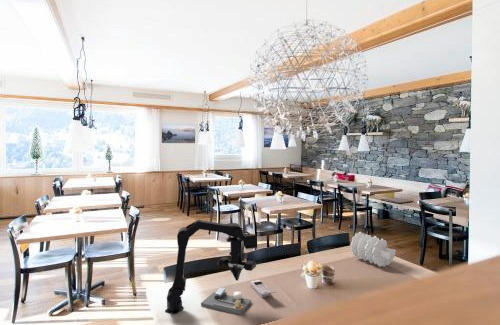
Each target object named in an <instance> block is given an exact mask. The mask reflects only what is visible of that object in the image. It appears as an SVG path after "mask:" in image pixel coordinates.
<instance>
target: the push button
mask: <svg viewBox="0 0 500 325" xmlns="http://www.w3.org/2000/svg"><path fill="white" fill-rule="evenodd" d="M232 293H233V295H232V296H233V298H234V299H235V300H240V299H242V298H243V292H241V291H239V290H238V291H234V292H232Z"/></svg>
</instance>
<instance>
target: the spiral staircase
mask: <svg viewBox="0 0 500 325" xmlns="http://www.w3.org/2000/svg"><path fill="white" fill-rule="evenodd" d="M349 246H350V247H351V248H350V251H351V253H352V255H353V256H355V257H356V258H357V259H360V260H363V261H364V262H366V261H369V263H370V264H371V265H372V264H374V265H377V266H378V267H379V268H381V267H386V266H388V265H390V264H392V261H393V260H394V258H395V256H396V251H397V249H395V248H388V247H387V246H388V242H387V239H384V238H379V237H377V236H376V235H374V236H371V234H369V235H368V234H366V233H364V232H362V231H359V232H355V234H354V236H352V238H351V243H350V245H349Z"/></svg>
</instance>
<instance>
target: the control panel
mask: <svg viewBox="0 0 500 325" xmlns="http://www.w3.org/2000/svg"><path fill="white" fill-rule="evenodd" d="M215 293H216V291H215V292H214V291H213V292H212V293H211V294H210V295H208V296H207V297H206V298H205V299H203V301H201V302H200V306H201V307H205V308H208V309H214V310H218V311H220V312H221V311H222V312H225V313H230V314H235V315H239V316H241V315H243V313H244V312H245V311H246V310H247V308H248V307H250V305H251V304H252V299H248V298H244V297H242V299H240V300H241V307H240V308H239V309H238V308H235V301H236V300H235V299H234V298H233V295H229V294H227V292H226V291H224V293H223V294H222V295H221V296H217V295H215Z"/></svg>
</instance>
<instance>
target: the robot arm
mask: <svg viewBox="0 0 500 325" xmlns="http://www.w3.org/2000/svg"><path fill="white" fill-rule="evenodd" d="M199 230H203V231H210V232H216V233H222V234H225V235H226V236H228V237H226V242H228V243H230V244H229V245H230V251H229V255H230V257H229V255H228V257H227V256H222V257H221V258H219V259H218V261H217V266H220V267H224V266H225V264H227V265H228V267H227V268H228V270H229V271H230V272H231V274H232V276H233V277H234V280H235V281H239V279H240V276H241V273H242V270H245V271H251V272H252V271H253V270H254V269H255V268H256V267H257V262H256V260H248V252H244V250H243V248H244V249H245V250H249V249H258V242H257V241H258V240H257V234H255V233H253V234H246V235H245V232H243V229H242V227H241V224H239V223H237V222H230V223H221V222H220V223H219V222H214V221H208V220H202V219H196V220H195V221H194V222H191V223H190V224H188V225H186V226H183V227H181V228H179V229H178V232H177V235H176V237H177V238H176V241H177V248H178V249H177V258H176V266H175V275H174V278H173V282H172V286H171V287H170V288H169V289H168V292H167V296H166V309H165V310H164V311H165V312H167V313H170V314H173V315H176V314H178V313H179V312H181V311H182V310H183V309H184V306H183V301H182V295H183V294H184V292H185V291H186V286H187V277H184V272H185V270H184V269H185V261H186V252H187V247H188V244H189V240H190V237H192V236H193V235H194V234H195V233H197V232H198V231H199ZM246 260H247V261H246ZM245 261H246V262H245Z"/></svg>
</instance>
